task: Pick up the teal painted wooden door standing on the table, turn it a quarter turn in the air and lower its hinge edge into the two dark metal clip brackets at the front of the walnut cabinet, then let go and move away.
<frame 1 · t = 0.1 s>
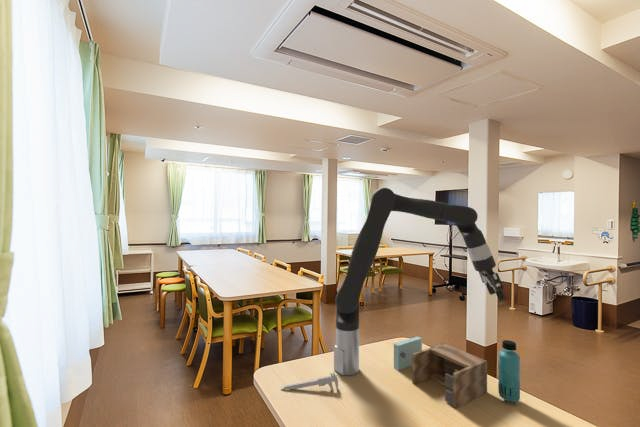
hand: (497, 296, 121), 31 cm above the table, tool tilted 20°, fingers open, 8 cm apart
cabinet: (448, 387, 115), on the table
beverage bottle: (509, 401, 107), on the table
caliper: (309, 390, 115), on the table
door: (408, 364, 133), on the table
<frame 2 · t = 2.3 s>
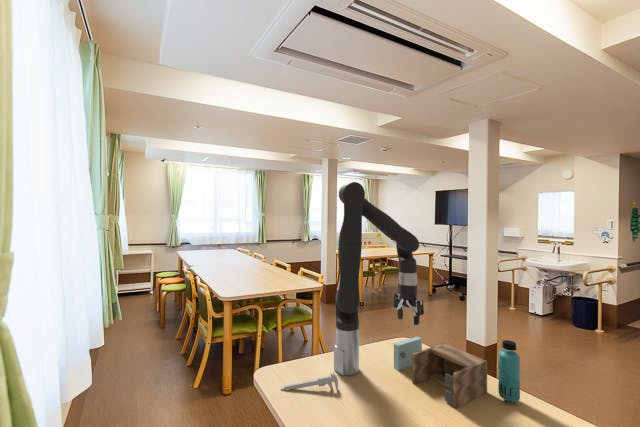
hand: (408, 321, 133), 18 cm above the table, tool pointing down, fingers open, 8 cm apart
nothing on the table moved.
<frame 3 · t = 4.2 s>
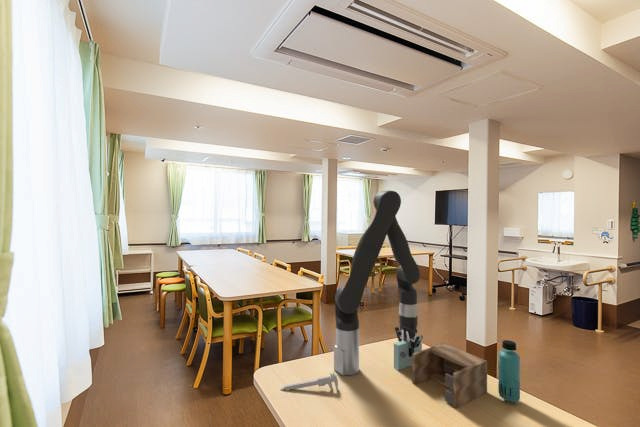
hand: (408, 354, 133), 4 cm above the table, tool pointing down, fingers closed on door, 2 cm apart
door: (408, 364, 133), on the table, touching gripper
everything else where it was.
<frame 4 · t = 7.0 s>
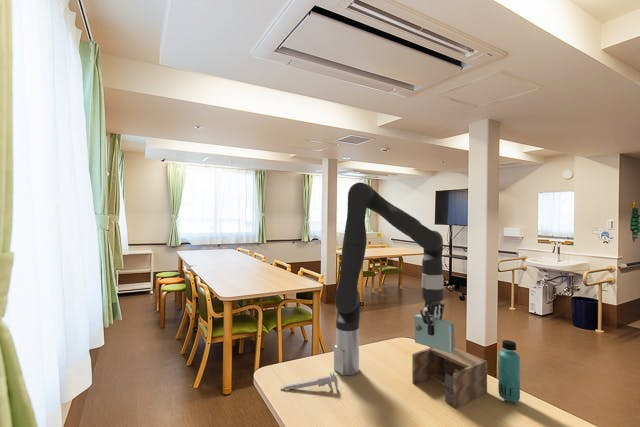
hand: (433, 333, 116), 19 cm above the table, tool pointing down, fingers closed on door, 2 cm apart
door: (434, 346, 115), point 15 cm above the table, touching gripper
everything else where it was.
when the fingers open (6 cm above the table, at t = 10.1 s): door stays where it is, resting on cabinet.
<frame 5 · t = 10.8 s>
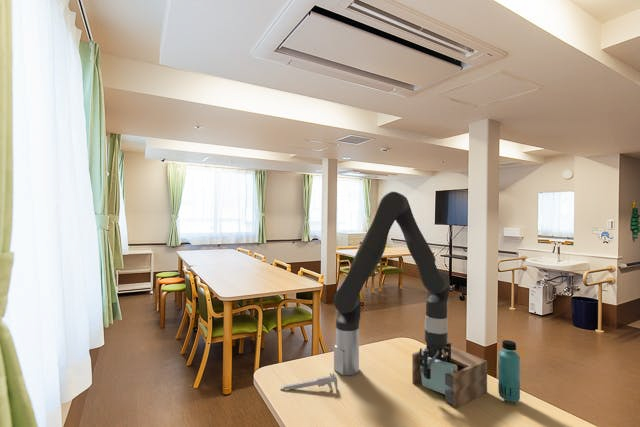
hand: (435, 375, 112), 6 cm above the table, tool pointing down, fingers open, 8 cm apart
door: (440, 390, 111), point 1 cm above the table, tilted 9°, touching cabinet
everything else where it was.
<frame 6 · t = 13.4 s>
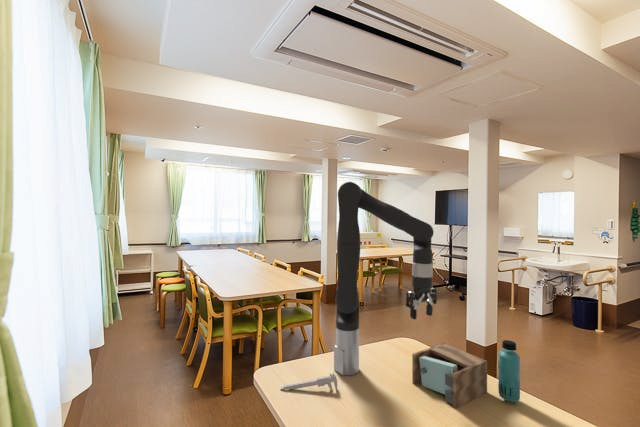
hand: (421, 317, 122), 23 cm above the table, tool pointing down, fingers open, 8 cm apart
nothing on the table moved.
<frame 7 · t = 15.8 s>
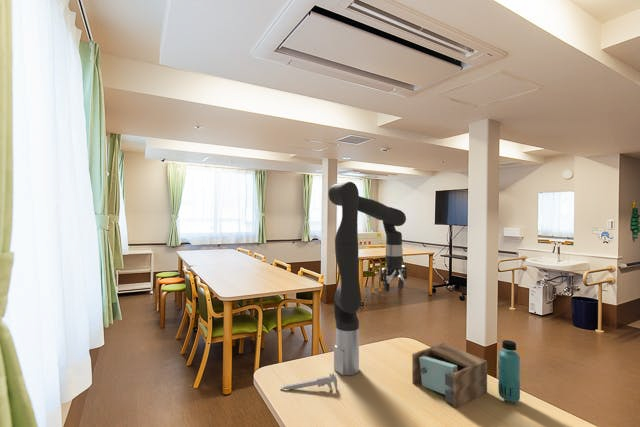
hand: (394, 290, 145), 28 cm above the table, tool pointing down, fingers open, 8 cm apart
nothing on the table moved.
at the end: door 1.4 cm from the target spot, point 1.0 cm above the table; door tilted 8°; the gripper is holding nothing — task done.
